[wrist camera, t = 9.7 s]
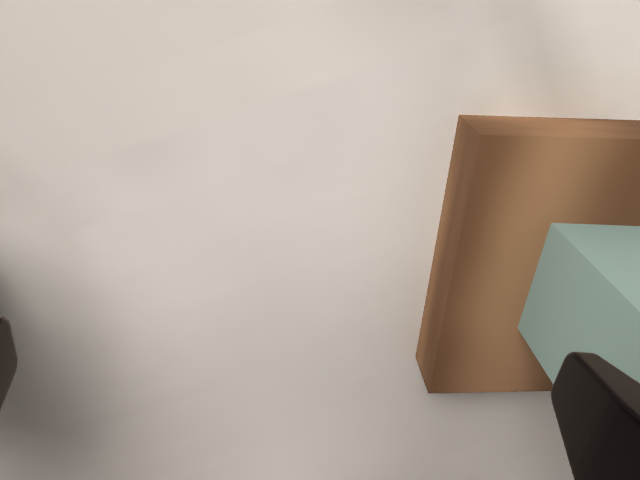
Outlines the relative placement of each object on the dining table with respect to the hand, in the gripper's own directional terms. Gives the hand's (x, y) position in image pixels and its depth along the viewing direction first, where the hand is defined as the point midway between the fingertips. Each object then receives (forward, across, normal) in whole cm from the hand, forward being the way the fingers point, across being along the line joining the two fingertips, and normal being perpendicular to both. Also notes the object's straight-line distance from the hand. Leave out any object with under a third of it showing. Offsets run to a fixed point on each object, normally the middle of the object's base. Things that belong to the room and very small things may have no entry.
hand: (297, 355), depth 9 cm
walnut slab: (+14, -12, +5) cm, 20 cm away
